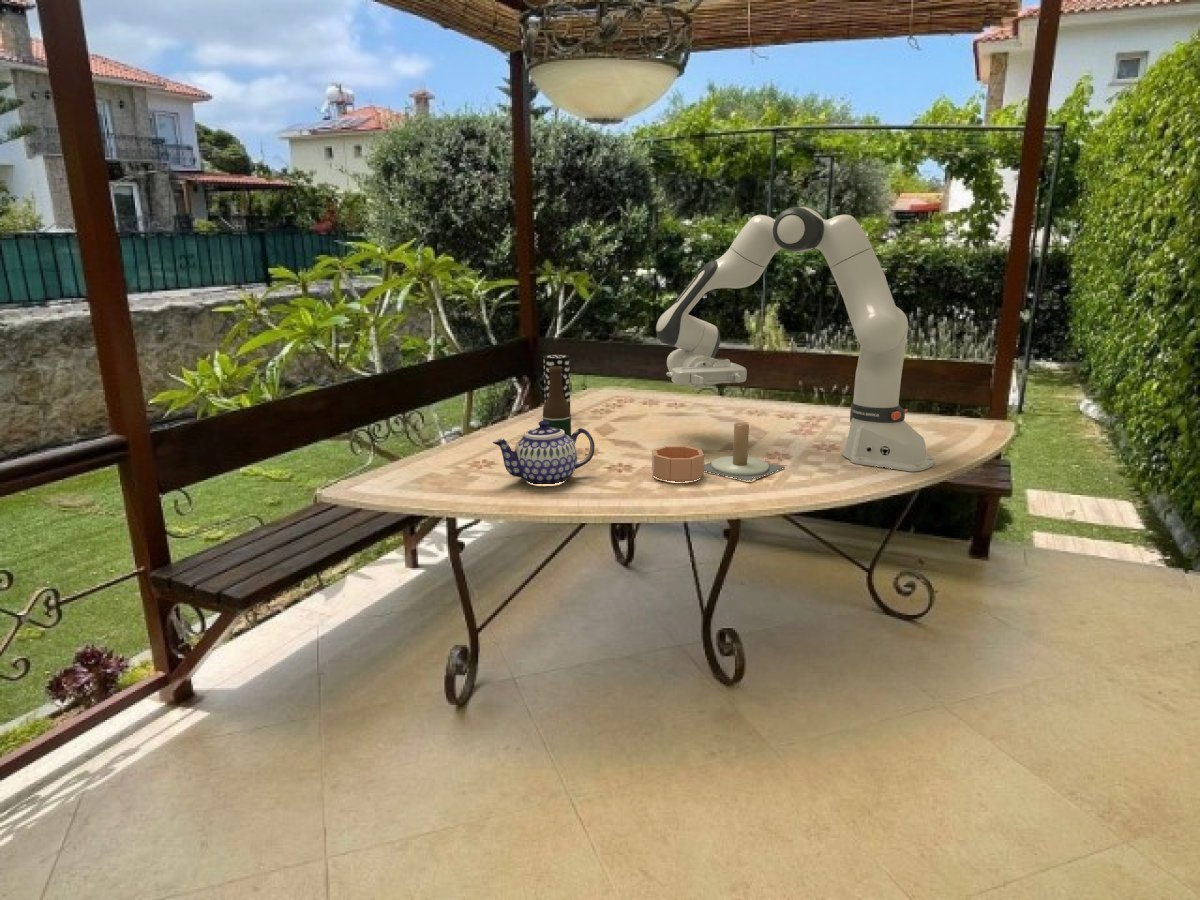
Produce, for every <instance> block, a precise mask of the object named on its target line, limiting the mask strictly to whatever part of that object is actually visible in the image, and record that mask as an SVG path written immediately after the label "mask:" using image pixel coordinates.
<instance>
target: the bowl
mask: <svg viewBox="0 0 1200 900" xmlns="http://www.w3.org/2000/svg"><path fill="white" fill-rule="evenodd" d="M704 465H705V454H704V452H703V450H702V449H700V448H696V447H691V446H688V445H664V446H661V447H658V448H653V449H652V450H651V472H652V477H653V476H655V477H657V478H659V479H662V480H667V481H675V482H685V481H694V480H697V479H699V478H701V477H702V478H703V476H704V473H705V472H704Z"/></svg>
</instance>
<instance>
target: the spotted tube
mask: <svg viewBox="0 0 1200 900" xmlns="http://www.w3.org/2000/svg"><path fill="white" fill-rule="evenodd" d="M552 366H560V367H562V370H563V371H562V372H561V373H562V385H563V394H564V398H565V399H566V401H567V403H568V405H569V408H570V409H571V381H570V380H571V378H570V377H571V376H570V373H571V372H570V369H571V368H570V366H571V365H570V355H566V354H547V355H543V384H544V385H543V388H544V389H543V390H544V392H543V393H544V403H545V402H546V400H547V399H548V397H549V385H550V372H549V367H552Z"/></svg>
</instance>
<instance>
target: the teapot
mask: <svg viewBox="0 0 1200 900" xmlns="http://www.w3.org/2000/svg"><path fill="white" fill-rule="evenodd" d="M538 426H539V427H534V428H530V429H527V430H526V431H524V435H523V436H522V437H521V438H520V439H519V440H517V443H516V445H515V448H514V451H513V450H512V448H511V446H510V445H509V443H508V442H507V440H506V439H504V438H497V439H496V440H494V441H492V444H494V445H496V446H499V448H500V451H501V455H502V459H503V464H504V467H505V470H506V471H507V473H508V474H509V475H510V476H512V477H516V478H521V479H523V481H525V482H526V481H528V482H530V483H533V484H555V483H559V482H563V481H565V480H566V479H567V480H568V479H569V478H570V477H571V476H572V475H573V474H574V472H575V470H577V469H580V467H583V466H585V465H586V464H587V463H589V462H590V461H591V459H593V456H594V454H595V441H594V439H593V436H592V435H591V433H590V432H589V431H588V430H586V429H585V428H582V427H581V428H577V429H576V430H575V431H574V432H573V433H571V436H568V435H566V434H565V433H564V430H562V429H558V428H551V427H548V426H549V422H548V421H545V420H543V419H542V420H540V421H539V422H538ZM580 434H584V435H585V436H586V437H587V439H588V441H589V452H588V454H587V455H586V457H584V458H583V459H582V460H580V461H578V451H577V447H576V443H577V439H578V437H579V435H580Z"/></svg>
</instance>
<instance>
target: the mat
mask: <svg viewBox="0 0 1200 900" xmlns="http://www.w3.org/2000/svg"><path fill="white" fill-rule="evenodd" d="M729 456H733V454H732V455H729ZM767 463H768V465H769V468H768V471H767V472H765V473H763V474H759V475H752V476H736V475H728V474H723V473H720V472H717V471H715V470H713V469H712V467H711V466H712V461H711V462H708V463H704V471H707V472H711V473H715V474H719V475H724V476H728V477H733V478H737V479H741V480H746V481H747V480H748V481H749V480H750V481H752V480H753V479H757V478H759V477H762V476H764V475H767V474H770V473H772V472H775V471H777V470H780V469H782V468H786V467H785V466H783V465H778V464H773V463H769V462H767ZM752 477H753V478H752ZM754 477H755V478H754Z"/></svg>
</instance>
